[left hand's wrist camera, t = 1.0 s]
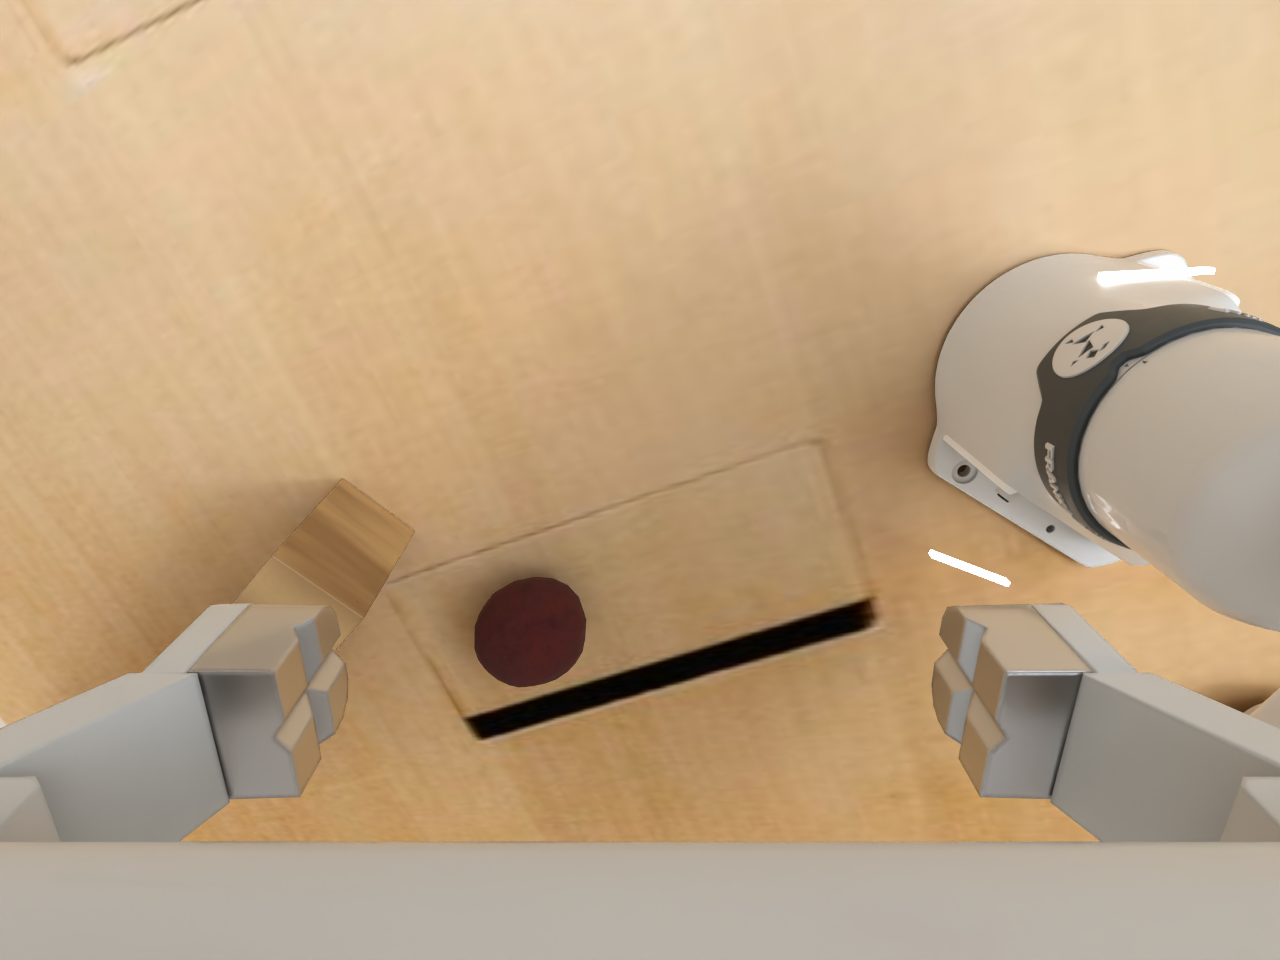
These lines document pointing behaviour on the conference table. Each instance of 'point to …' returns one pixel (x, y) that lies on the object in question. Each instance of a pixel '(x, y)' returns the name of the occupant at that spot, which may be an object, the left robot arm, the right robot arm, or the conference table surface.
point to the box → (334, 558)
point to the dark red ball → (530, 632)
